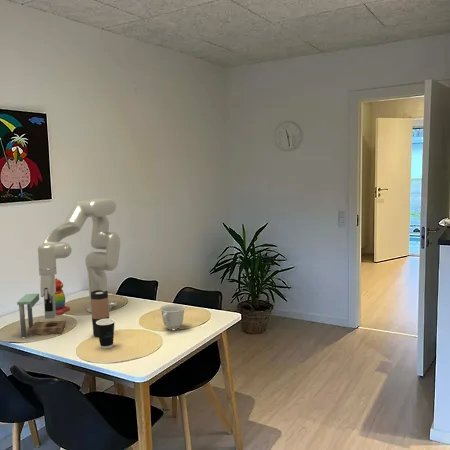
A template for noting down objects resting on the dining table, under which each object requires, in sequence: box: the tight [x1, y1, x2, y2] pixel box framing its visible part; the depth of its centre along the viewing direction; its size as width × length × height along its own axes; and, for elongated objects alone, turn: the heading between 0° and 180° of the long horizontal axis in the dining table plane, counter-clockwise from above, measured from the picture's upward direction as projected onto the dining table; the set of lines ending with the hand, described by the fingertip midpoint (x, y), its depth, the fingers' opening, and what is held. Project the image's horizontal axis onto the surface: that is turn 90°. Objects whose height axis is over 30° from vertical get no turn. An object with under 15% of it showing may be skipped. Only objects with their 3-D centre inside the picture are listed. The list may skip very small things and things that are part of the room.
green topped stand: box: [16, 293, 40, 338], centre depth 218 cm, size 6×14×17 cm, turn 8°
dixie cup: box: [96, 318, 116, 349], centre depth 199 cm, size 8×8×11 cm
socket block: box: [28, 320, 67, 337], centre depth 220 cm, size 14×10×3 cm
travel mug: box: [91, 290, 110, 338], centre depth 212 cm, size 8×8×20 cm
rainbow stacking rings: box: [55, 277, 71, 316], centre depth 249 cm, size 11×10×18 cm
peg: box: [43, 293, 57, 320], centre depth 219 cm, size 4×4×12 cm
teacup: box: [159, 303, 186, 330], centre depth 218 cm, size 12×15×10 cm
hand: (50, 309), depth 219 cm, fingers closed on peg, 4 cm apart
